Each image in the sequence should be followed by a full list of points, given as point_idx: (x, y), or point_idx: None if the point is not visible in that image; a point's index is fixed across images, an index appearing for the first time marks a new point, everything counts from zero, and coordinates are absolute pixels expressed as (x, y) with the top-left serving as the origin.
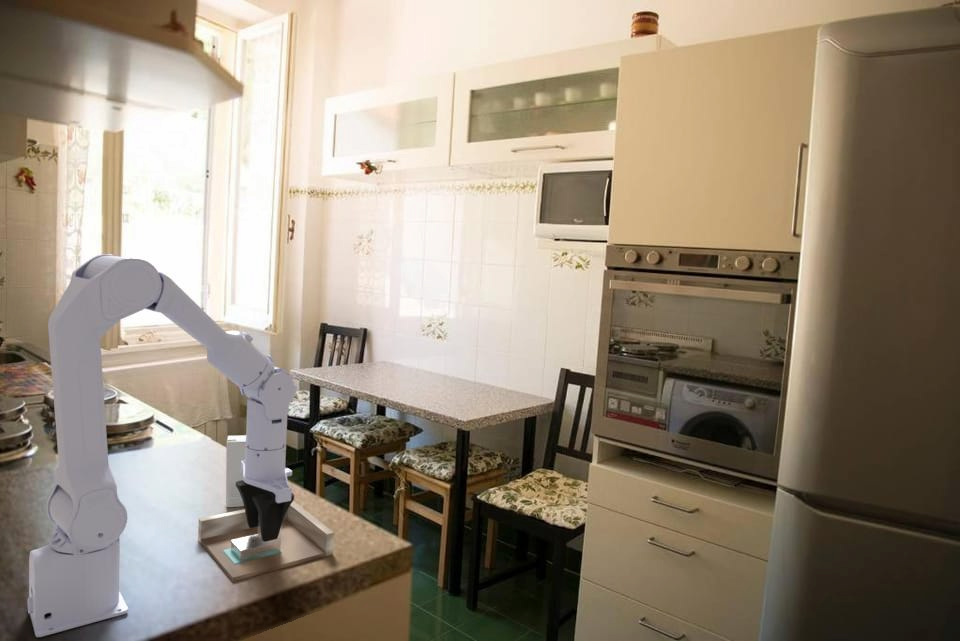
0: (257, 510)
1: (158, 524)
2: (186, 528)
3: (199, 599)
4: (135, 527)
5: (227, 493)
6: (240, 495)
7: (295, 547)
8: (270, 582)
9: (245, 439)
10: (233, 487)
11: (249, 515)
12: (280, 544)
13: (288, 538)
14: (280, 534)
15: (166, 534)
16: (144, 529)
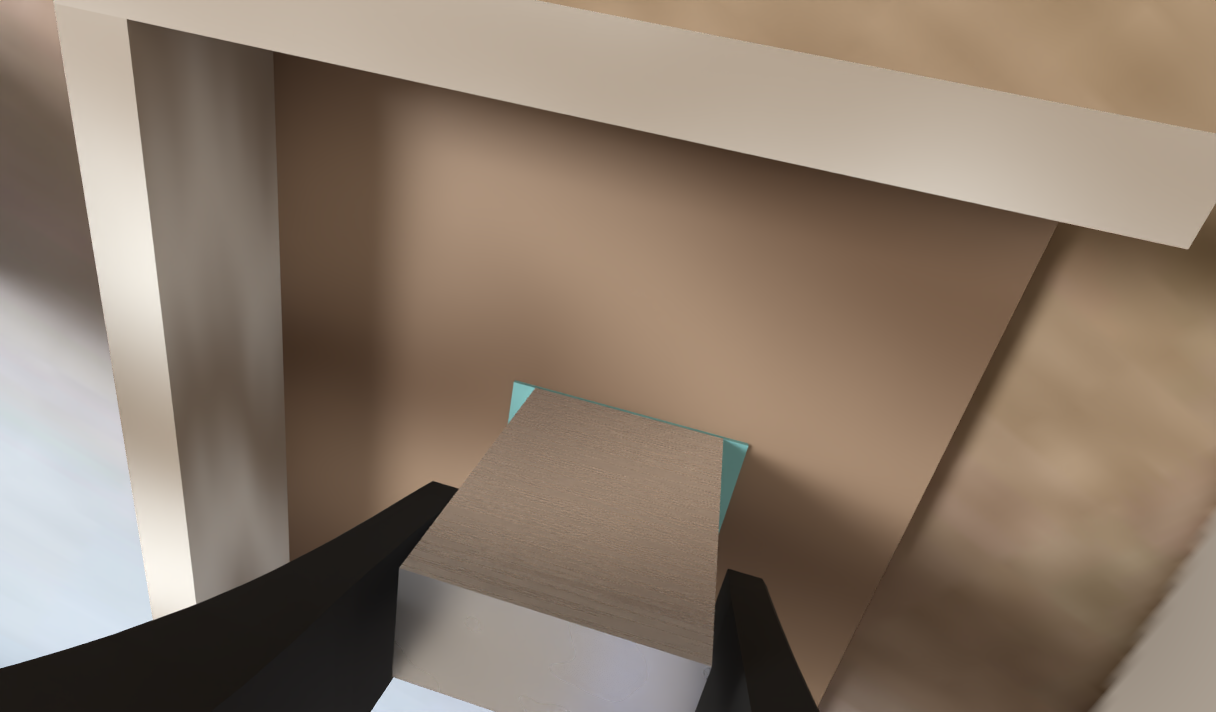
0: (373, 634)
1: (29, 569)
2: (113, 524)
3: None
4: (32, 632)
5: None
6: None
7: (761, 330)
8: (966, 660)
9: None
10: None
11: (392, 665)
12: (721, 464)
13: (591, 269)
14: (718, 518)
15: (145, 607)
16: (62, 625)
